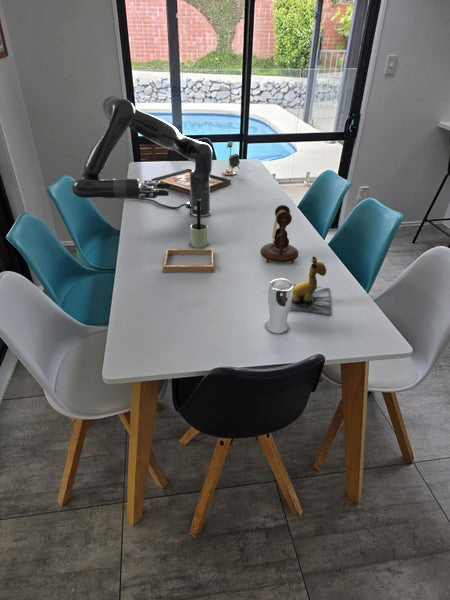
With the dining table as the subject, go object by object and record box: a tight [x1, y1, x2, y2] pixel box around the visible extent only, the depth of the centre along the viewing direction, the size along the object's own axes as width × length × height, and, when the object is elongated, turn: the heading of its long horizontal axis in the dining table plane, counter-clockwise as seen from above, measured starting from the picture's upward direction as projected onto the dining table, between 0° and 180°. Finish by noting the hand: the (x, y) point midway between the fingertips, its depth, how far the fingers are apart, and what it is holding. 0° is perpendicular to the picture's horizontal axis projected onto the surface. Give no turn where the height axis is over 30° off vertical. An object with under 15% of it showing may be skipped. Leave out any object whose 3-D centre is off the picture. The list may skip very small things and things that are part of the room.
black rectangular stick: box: [196, 199, 202, 230], centre depth 161 cm, size 4×1×18 cm, turn 2°
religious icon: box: [151, 168, 232, 195], centre depth 232 cm, size 38×35×3 cm
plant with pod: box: [222, 140, 241, 176], centre depth 246 cm, size 8×11×20 cm
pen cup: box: [189, 222, 209, 248], centre depth 163 cm, size 7×7×8 cm
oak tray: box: [162, 248, 214, 273], centre depth 152 cm, size 18×14×2 cm
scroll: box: [260, 204, 299, 264], centre depth 152 cm, size 15×15×20 cm
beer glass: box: [266, 278, 294, 334], centre depth 115 cm, size 7×7×15 cm
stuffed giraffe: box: [290, 255, 331, 316], centre depth 129 cm, size 16×18×16 cm
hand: (169, 189), depth 154 cm, fingers open, 8 cm apart
